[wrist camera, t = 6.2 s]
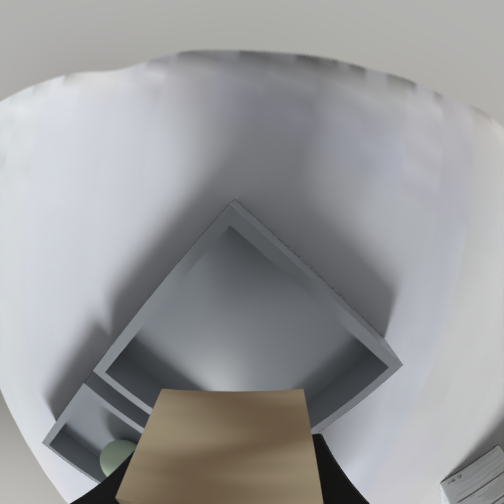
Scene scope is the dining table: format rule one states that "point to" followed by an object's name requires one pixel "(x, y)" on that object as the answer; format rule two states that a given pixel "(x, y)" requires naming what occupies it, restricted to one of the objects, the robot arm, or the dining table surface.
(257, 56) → the dining table surface
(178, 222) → the dining table surface
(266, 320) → the tray near
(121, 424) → the tray far
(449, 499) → the supplement box
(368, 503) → the robot arm
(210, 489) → the letter cube
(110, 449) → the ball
